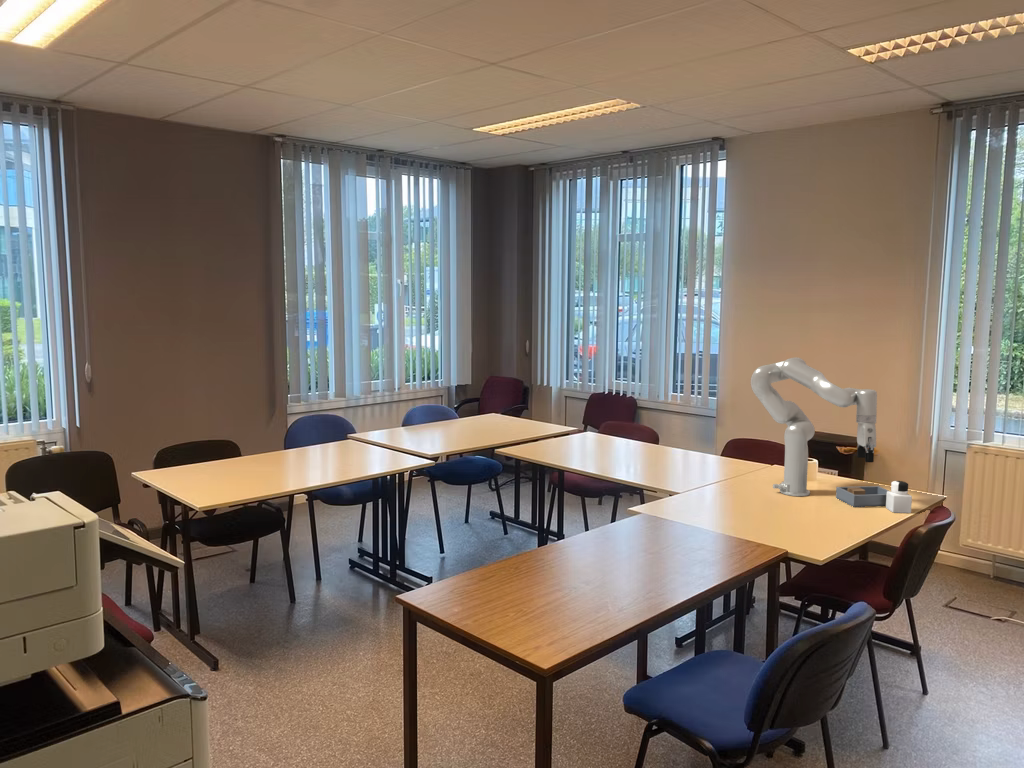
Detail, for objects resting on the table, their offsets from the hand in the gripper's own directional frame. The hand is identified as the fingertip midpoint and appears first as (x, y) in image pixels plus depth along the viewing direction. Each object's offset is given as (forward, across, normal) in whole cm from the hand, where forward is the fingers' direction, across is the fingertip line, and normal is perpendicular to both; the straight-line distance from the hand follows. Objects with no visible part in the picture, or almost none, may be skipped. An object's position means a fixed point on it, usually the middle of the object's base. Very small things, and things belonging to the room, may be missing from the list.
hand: (865, 459), depth 305 cm
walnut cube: (+18, +2, +3) cm, 18 cm away
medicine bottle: (+19, -8, -10) cm, 24 cm away
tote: (+19, +3, -2) cm, 19 cm away
